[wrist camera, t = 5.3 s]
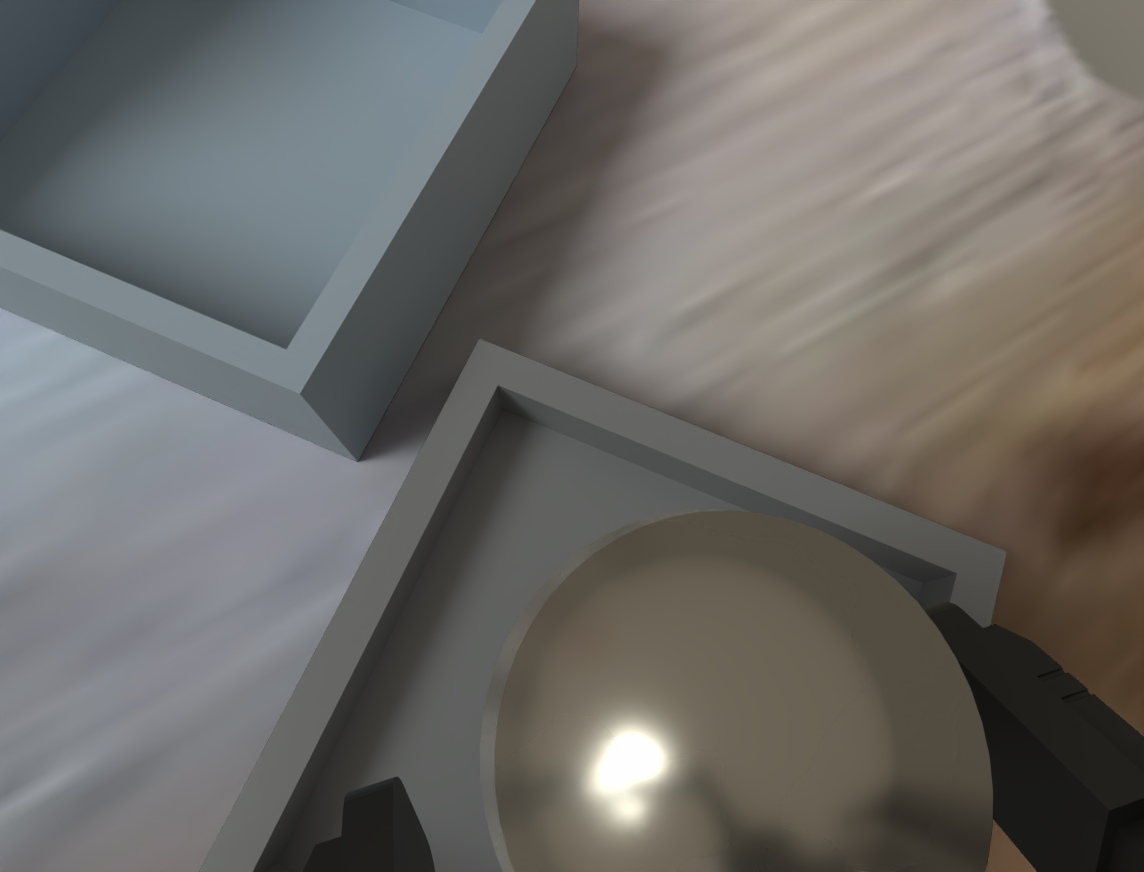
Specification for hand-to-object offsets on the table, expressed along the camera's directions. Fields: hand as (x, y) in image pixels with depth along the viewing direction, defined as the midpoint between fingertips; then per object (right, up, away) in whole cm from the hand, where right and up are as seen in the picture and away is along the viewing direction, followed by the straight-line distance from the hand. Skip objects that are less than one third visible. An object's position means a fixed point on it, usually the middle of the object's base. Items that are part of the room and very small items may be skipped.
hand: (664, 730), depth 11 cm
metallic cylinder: (0, -2, +7) cm, 7 cm away
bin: (-11, +14, +13) cm, 22 cm away
